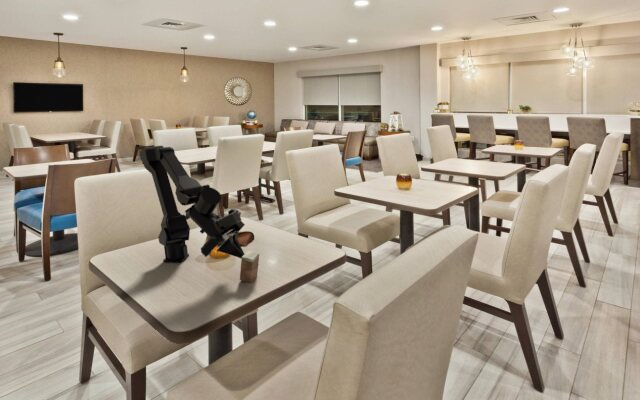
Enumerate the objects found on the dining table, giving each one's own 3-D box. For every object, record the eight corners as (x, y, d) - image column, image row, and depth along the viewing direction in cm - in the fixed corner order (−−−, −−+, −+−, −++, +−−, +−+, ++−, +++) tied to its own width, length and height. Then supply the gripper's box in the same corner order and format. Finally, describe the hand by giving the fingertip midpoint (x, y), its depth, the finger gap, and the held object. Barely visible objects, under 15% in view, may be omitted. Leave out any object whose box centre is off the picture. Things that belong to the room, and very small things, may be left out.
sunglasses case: (201, 244, 155) (203, 227, 157) (208, 248, 162) (211, 231, 164) (247, 246, 153) (249, 228, 154) (253, 249, 159) (255, 232, 161)
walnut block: (239, 280, 123) (241, 256, 121) (246, 273, 128) (248, 250, 126) (250, 282, 123) (252, 259, 121) (257, 275, 127) (259, 253, 125)
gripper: (206, 210, 112) (247, 251, 112) (236, 195, 130) (271, 230, 130) (183, 237, 116) (223, 276, 116) (215, 218, 134) (250, 252, 134)
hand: (243, 257), depth 124 cm, fingers closed
